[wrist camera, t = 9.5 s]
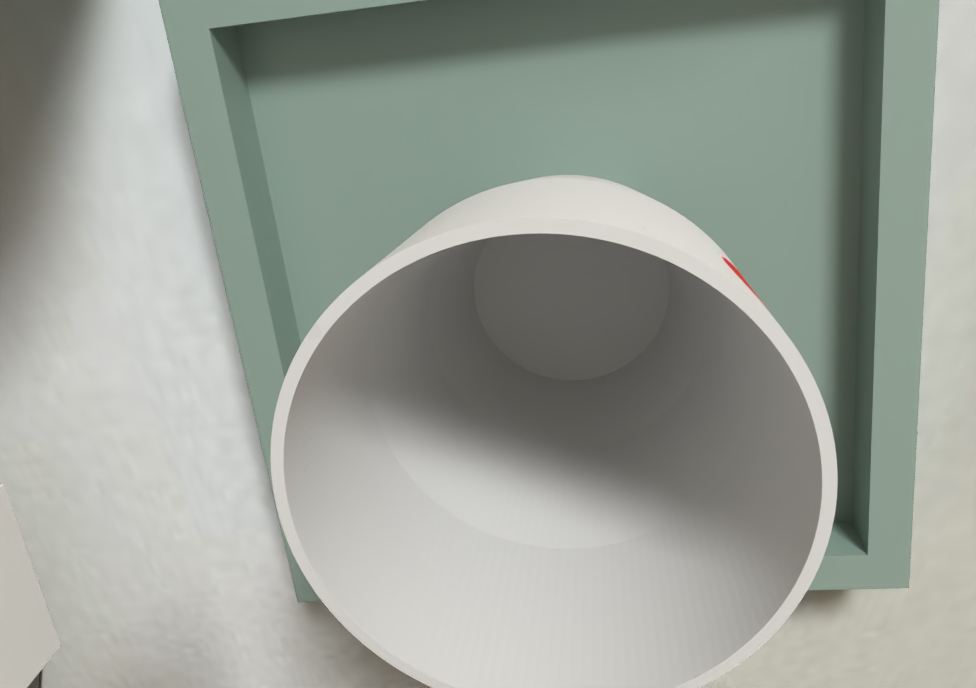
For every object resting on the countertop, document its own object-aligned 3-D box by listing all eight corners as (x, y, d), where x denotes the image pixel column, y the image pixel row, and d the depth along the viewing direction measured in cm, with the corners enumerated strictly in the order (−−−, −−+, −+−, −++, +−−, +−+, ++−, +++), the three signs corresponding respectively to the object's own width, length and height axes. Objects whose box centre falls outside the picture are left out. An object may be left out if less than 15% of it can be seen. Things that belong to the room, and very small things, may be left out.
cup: (707, 453, 23) (776, 752, 14) (401, 416, 24) (273, 678, 15) (764, 137, 20) (901, 252, 11) (414, 106, 21) (263, 189, 12)
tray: (324, 550, 27) (298, 602, 25) (203, -13, 22) (155, -15, 19) (880, 532, 25) (908, 588, 22) (904, -112, 19) (945, -127, 17)
